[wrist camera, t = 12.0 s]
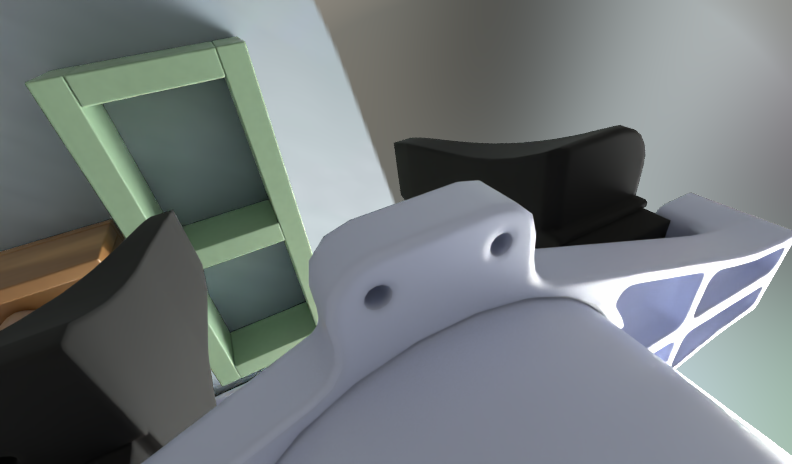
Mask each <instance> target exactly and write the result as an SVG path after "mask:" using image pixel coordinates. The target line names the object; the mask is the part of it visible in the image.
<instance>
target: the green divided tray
mask: <svg viewBox="0 0 792 464" xmlns="http://www.w3.org/2000/svg"><path fill="white" fill-rule="evenodd" d="M224 77H225V80H226V83H227V85H228V88H229V91H230V94H231V96H232V99H233V102H234V105H235V107H236V110H237V113H238V116H239V118H240V121H241V124H242V127H243V129H244V132H245V135H246V138H247V140H248V143H249V146H250V149H251V151H252V154H253V157H254V160H255V162H256V165H257V168H258V171H259V173H260V176H261V179H262V182H263V184H264V187H265V190H266V193H267V195H268V198H269V200H265V201H262V202H259V203H256V204H253V205H249V206H246V207H243V208H240V209H237V210H234V211H230V212H227V213H224V214H221V215H218V216H215V217H211V218H208V219H205V220H202V221H199V222H196V223H192V224H189V225H186V226H183V229H184V231H185V233H186V235H187V237H188V238H189V240H190V242H191V244H192V246H193V248H194V250H195V251H196V253H197V255H198V257H199V259H200V261H201V263H202V265H203V269H205V268H208V267H210V266H213V265H216V264H219V263H222V262H225V261H228V260H230V259H233V258H236V257H239V256H242V255H245V254H247V253H250V252H253V251H256V250H259V249H262V248H264V247H267V246H270V245H273V244H276V243H279V242H282V241H284V242H285V245H286V248H287V250H288V253H289V256H290V259H291V261H292V264H293V267H294V270H295V272H296V275H297V278H298V281H299V283H300V286H301V289H302V292H303V294H304V297H305V300H306V302H305V303H302V304H300V305H297V306H295V307H292V308H290V309H287V310H285V311H282V312H280V313H278V314H275V315H273V316H270V317H268V318H265V319H263V320H260V321H258V322H255V323H253V324H251V325H248V326H246V327H243V328H241V329H238V330H236V331H233V332H231V334H230V332H229V330H228V328H227V326H226V325H225V323H224V321H223V319H222V317H221V316H220V314H219V312H218V310H217V308H216V307H215V305H214V303H213V301H212V300H211V298H210V296H209V294H208V292H207V299H208V352H209V362H210V368H211V370H212V372H213V373H214V375H215V376H216V378H217V379H218V381H219V382H220V384H221V385H222V386H225V385H227V384H229V383H232V382H234V381H236V380H238V379H240V378H243V377H245V376H248V375H250V374H252V373H254V372H256V371H259V370H261V369H263V368H265V367H268V366H269V365H271V364H272V363H273V362H275V361H276V360H277V359H279V358H280V357H281V356H283V355H284V354H285V353H286V352H288V351H289V350H290V349H292V348H293V347H294V346H296V345H297V344H298V343H300V342H301V341H302V340H304V339H305V338H306V337H307V336H309V335H310V334H311V333H312V332H313V331H314V329H315V328H316V326H317V322H318V313H317V307H316V305H315V302H314V299H313V296H312V293H311V290H310V287H309V260H310V258H311V256H312V255H313V253H312V250H311V247H310V244H309V241H308V238H307V234H306V231H305V228H304V225H303V222H302V219H301V216H300V212H299V209H298V206H297V203H296V200H295V197H294V194H293V191H292V187H291V184H290V181H289V178H288V175H287V172H286V169H285V165H284V162H283V159H282V156H281V153H280V150H279V147H278V143H277V140H276V137H275V134H274V131H273V128H272V125H271V121H270V118H269V115H268V112H267V109H266V106H265V103H264V100H263V96H262V93H261V90H260V87H259V84H258V81H257V78H256V74H255V71H254V68H253V65H252V62H251V59H250V56H249V52H248V49H247V46H246V43H245V42H244V41H243V40H241V39H240V38H238V37H230V38H225V39H220V40H214V41H212V42H210V41H209V42H203V43H198V44H192V45H187V46H182V47H176V48H171V49H165V50H160V51H154V52H149V53H144V54H138V55H133V56H127V57H122V58H116V59H111V60H106V61H100V62H95V63H89V64H84V65H81V66H80V65H78V66H73V67H67V68H62V69H56V70H51V71H48V72H46V73H44V74H42V75H40V76H38V77H36V78H34V79H31V80H29V81H27V82H26V83H25V85H26V86H27V88H28V90H29V91H30V93H31V94H32V96H33V97H34V99H35V100H36V102H37V103H38V105H39V106H40V108H41V109H42V111H43V113H44V114H45V116H46V117H47V119H48V120H49V122H50V123H51V125H52V126H53V128H54V129H55V131H56V132H57V134H58V136H59V137H60V139H61V140H62V142H63V143H64V145H65V146H66V148H67V149H68V151H69V152H70V154H71V155H72V157H73V159H74V160H75V162H76V163H77V165H78V166H79V168H80V169H81V171H82V172H83V174H84V175H85V177H86V178H87V180H88V182H89V183H90V185H91V186H92V188H93V189H94V191H95V192H96V194H97V195H98V197H99V198H100V200H101V201H102V203H103V204H104V206H105V208H106V209H107V211H108V212H109V214H110V215H111V217H112V218H113V220H114V221H115V223H116V224H117V226H118V227H119V229H120V231H121V232H122V234H123V235H124V237H125V238H127V237H128V236H129V235H130V234H131V233H132V232H133V231H134V230H135V229H136V228H137V227H138V226H139V225H140V224H142V223H143V222H144V221H145V220H146V219H148V218H149V217H151V216H154V215H158V214H161V213H163V212H162V210H161V208H160V206H159V204H158V203H157V201H156V199H155V197H154V195H153V194H152V192H151V190H150V188H149V187H148V185H147V183H146V181H145V179H144V178H143V176H142V174H141V172H140V170H139V169H138V167H137V165H136V163H135V161H134V160H133V158H132V156H131V154H130V152H129V151H128V149H127V147H126V145H125V143H124V142H123V140H122V138H121V136H120V134H119V133H118V131H117V129H116V127H115V126H114V124H113V122H112V120H111V118H110V117H109V115H108V113H107V111H106V109H105V108H104V106H103V103H107V102H112V101H117V100H121V99H126V98H131V97H135V96H140V95H145V94H150V93H154V92H159V91H164V90H168V89H173V88H178V87H182V86H187V85H192V84H196V83H201V82H206V81H210V80H215V79H220V78H224Z"/></svg>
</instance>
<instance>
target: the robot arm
mask: <svg viewBox="0 0 792 464" xmlns="http://www.w3.org/2000/svg"><path fill="white" fill-rule="evenodd" d="M394 148H395V155H396V162H397V169H398V177H399V184H400V191H401V195H402V197H403V198H404V199H405V201H402V202H399V203H396V204H393V205H391V206H388V207H385V208H382V209H379V210H377V211H374V212H371V213H368V214H365V215H363V216H360V217H357V218H354V219H351V220H349V221H347V222H346V223H344V224H343V225H341V226H339V227H338V228H336V229H335V230H333V231H332V232H330V233H328V234H327V235H325V236H324V237H323V239H322V240H321V242H320V243H319V245H318V247H317V248H316V250H315V251H314V253H313V255H312V256H311V258H310V260H309V287H310V290H311V293H312V296H313V299H314V302H315V305H316V307H317V313H318V322H317V326H316V328H315V329H314V331H313V332H312V333H311V334H310V335H309V336H307V337H306V338H305V339H304V340H302V341H301V342H300V343H298V344H297V345H296V346H294V347H293V348H292V349H290V350H289V351H288V352H286V353H285V354H284V355H283V356H281V357H280V358H279V359H277V360H276V361H275V362H273V363H272V364H271V365H269V366H268V367H267V368H266V369H264V370H263V371H262V372H260V373H259V374H258V375H256V376H255V377H254V378H252V379H251V380H250V381H249V382H247V383H245V384H243V385H241V386H238V387H236V388H234V389H232V390H229V391H227V392H225V393H223V394H221V395H218V396H216V397H215V394H214V388H213V382H212V375H211V369H210V362H209V352H208V299H207V285H206V280H205V274H204V270H203V265H202V263H201V261H200V259H199V257H198V255H197V253H196V251H195V250H194V248H193V246H192V244H191V242H190V240H189V238H188V237H187V235H186V233H185V231H184V229H183V227H182V226H181V224H180V222H179V220H178V218H177V216H176V214H175V213H174V211H173V210H171V211H168V212H164V213H161V214H158V215H154V216H151V217H149V218H148V219H146V220H145V221H144V222H143V223H142V224H140V225H139V226H138V227H137V228H136V229H135V230H134V231H133V232H132V233H131V234H130V235H129V236H128V237H127V238H126V239H125V240H124V241H123V242H122V243H121V244H120V245H119V246H118V247H117V248H116V249H115V250H114V251H113V252H112V253H111V254H109V255H108V256H107V257H106V258H105V259H104V260H103V261H102V262H101V263H99V264H98V265H97V266H96V267H95V268H94V269H93V270H92V271H90V272H89V273H88V274H87V275H85V276H84V277H83V278H82V279H80V280H79V281H78V282H76V283H75V284H74V285H72V286H71V287H70V288H68V289H67V290H65V291H64V292H63V293H61V294H60V295H58V296H57V297H55V298H54V299H52V300H51V301H49V302H48V303H46V304H44V305H43V306H41V307H40V308H38V309H36V310H35V311H33V312H31V313H30V314H28V315H27V316H25V317H23V318H22V319H20V320H19V321H17V322H15V323H13V324H12V325H10V326H8V327H6V328H4V329H2V330H1V331H0V464H792V456H791V455H789V454H788V453H787V452H785V451H784V450H783V449H781V448H780V447H779V446H777V445H776V444H775V443H773V442H772V441H771V440H769V439H768V438H766V437H765V436H764V435H763V434H761V433H760V432H758V431H757V430H756V429H755V428H753V427H752V426H750V425H749V424H748V423H746V422H745V421H744V420H742V419H741V418H740V417H738V416H737V415H736V414H734V413H733V412H732V411H730V410H729V409H728V408H726V407H725V406H724V405H722V404H721V403H720V402H718V401H717V400H715V399H714V398H713V397H712V396H710V395H709V394H707V393H706V392H705V391H704V390H702V389H701V388H699V387H698V386H697V385H695V384H694V383H693V382H691V381H690V380H689V379H687V378H686V377H685V376H683V375H682V374H681V373H679V372H678V371H676V370H675V369H676V368H677V367H679V366H680V365H681V364H682V363H684V362H685V361H686V360H687V359H688V358H689V357H690V356H692V355H693V354H694V353H695V352H697V351H698V350H699V349H700V348H702V347H703V346H704V345H705V344H706V343H708V342H709V341H710V340H711V339H712V338H714V337H715V336H717V335H718V334H719V333H721V332H722V331H723V330H725V329H726V328H727V327H729V326H730V325H731V324H733V323H734V322H736V321H737V320H739V319H740V318H741V317H743V316H744V315H746V314H747V313H749V312H750V311H752V310H753V309H754V308H755V307H756V305H757V303H758V302H759V300H760V298H761V296H762V295H763V293H764V291H765V290H766V288H767V286H768V284H769V283H770V281H771V279H772V277H773V276H774V274H775V272H776V270H777V268H778V267H779V265H780V263H781V262H782V260H783V258H784V256H785V255H786V253H787V251H788V249H789V248H790V246H791V244H792V230H790V229H788V228H785V227H783V226H780V225H777V224H774V223H772V222H769V221H766V220H764V219H761V218H758V217H756V216H753V215H750V214H748V213H745V212H742V211H739V210H737V209H734V208H731V207H729V206H726V205H723V204H721V203H718V202H715V201H712V200H710V199H707V198H704V197H701V196H699V195H696V194H694V193H688V194H685V195H683V196H681V197H679V198H677V199H674V200H672V201H670V202H668V203H666V204H664V205H663V206H662V207H660V208H659V209H658V210H657V212H656V213H653V212H650V211H648V210H646V209H644V207H646V205H647V201H646V200H645V199H643V198H641V197H638V196H636V192H637V188H638V184H639V181H640V177H641V173H642V168H643V165H644V159H645V145H644V141H643V139H642V136H641V135H640V134H639V133H638V132H637V131H636V130H634V129H631V128H627V127H624V126H621V125H618V126H613V127H609V128H604V129H600V130H596V131H592V132H588V133H584V134H579V135H575V136H569V137H563V138H557V139H552V140H544V141H534V142H524V143H505V144H504V143H500V144H489V143H469V142H458V141H449V140H440V139H430V138H409V139H405V140H402V141H399V142H395V143H394Z"/></svg>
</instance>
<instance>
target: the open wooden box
mask: <svg viewBox="0 0 792 464" xmlns="http://www.w3.org/2000/svg"><path fill="white" fill-rule="evenodd" d="M124 240H125V238H124V237H123V235H122V234H121V232H120V231H119V229H118V228H117V226H116V224H115V223H114V221H113V220H112V219H110V220H106V221H103V222H100V223H96V224H93V225H89V226H86V227H83V228H79V229H76V230H72V231H69V232H66V233H62V234H59V235H55V236H52V237H49V238H45V239H42V240H39V241H35V242H32V243H28V244H25V245H22V246H18V247H15V248H11V249H8V250H5V251H1V252H0V325H1V324H2V323H3V322H4V321H5V320H6V318H8V317H9V316H11V315H12V314H14V313H16V312H19V311H24V310H36V309H38V308H40V307H41V306H43V305H44V304H46V303H48V302H49V301H51V300H52V299H54V298H55V297H57V296H58V295H60V294H61V293H63V292H64V291H65V290H67V289H68V288H70V287H71V286H72V285H74V284H75V283H76V282H78V281H79V280H80V279H82V278H83V277H84V276H85V275H87V274H88V273H89V272H90V271H92V270H93V269H94V268H95V267H96V266H97V265H98V264H99V263H101V262H102V261H103V260H104V259H105V258H106V257H107V256H108V255H109V254H111V253H112V252H113V251H114V250H115V249H116V248H117V247H118V246H119V245H120V244H121V243H122V242H123V241H124Z"/></svg>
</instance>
